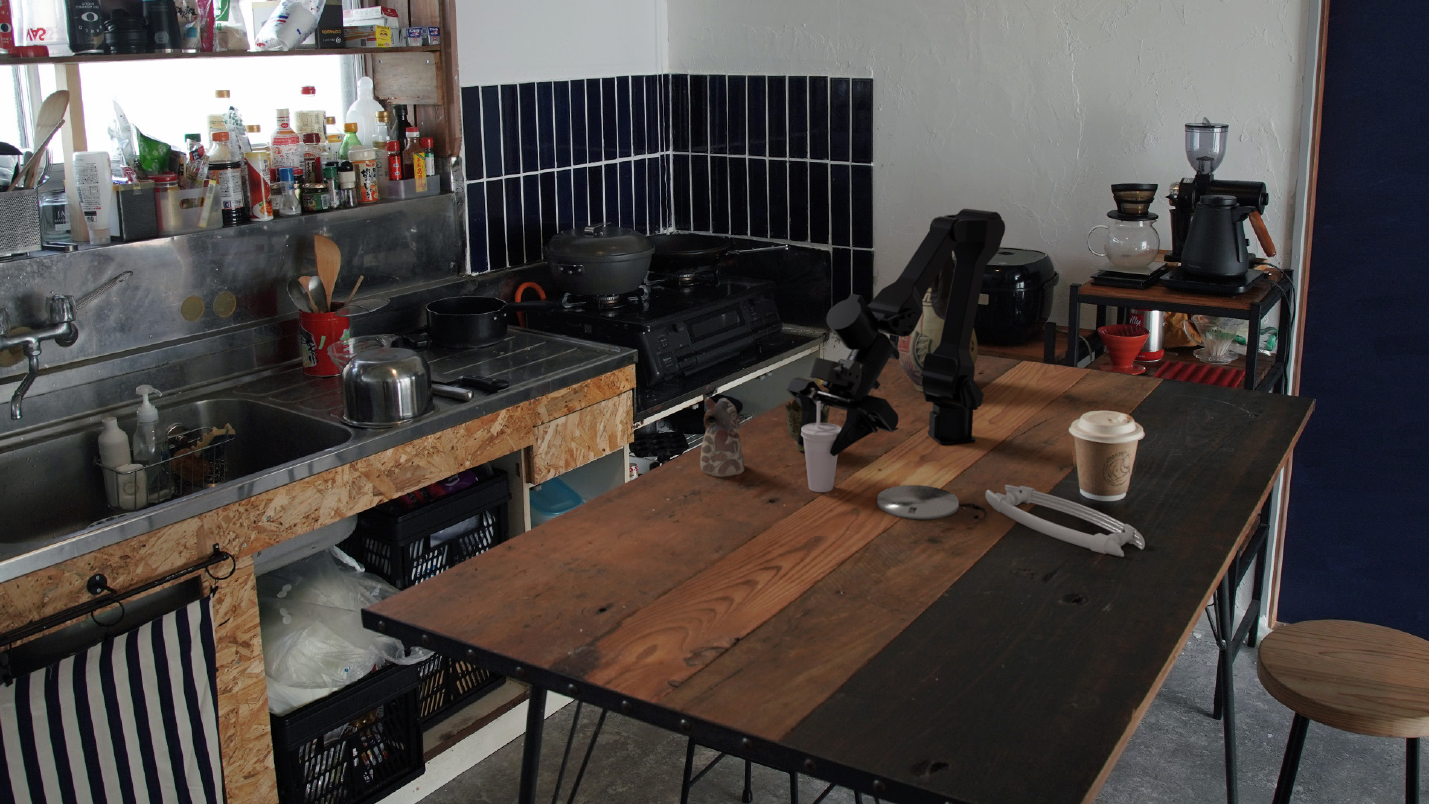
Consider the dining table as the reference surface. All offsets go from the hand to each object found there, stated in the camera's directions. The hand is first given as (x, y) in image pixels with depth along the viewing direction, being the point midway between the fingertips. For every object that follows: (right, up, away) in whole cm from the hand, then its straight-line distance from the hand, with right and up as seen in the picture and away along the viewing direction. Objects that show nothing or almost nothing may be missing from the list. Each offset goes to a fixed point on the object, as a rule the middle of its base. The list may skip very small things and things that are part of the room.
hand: (815, 449), depth 189 cm
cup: (0, -1, +20) cm, 20 cm away
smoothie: (+1, -6, +3) cm, 7 cm away
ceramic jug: (+28, +10, +55) cm, 62 cm away
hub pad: (+15, -8, -4) cm, 17 cm away
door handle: (+34, -11, -12) cm, 38 cm away
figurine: (-14, -4, +12) cm, 19 cm away
